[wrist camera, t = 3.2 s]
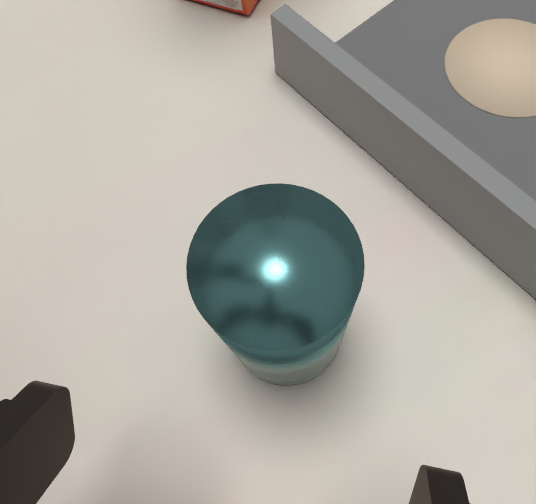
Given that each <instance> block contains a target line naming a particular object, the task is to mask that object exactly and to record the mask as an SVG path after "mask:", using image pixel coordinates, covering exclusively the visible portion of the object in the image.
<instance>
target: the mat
mask: <svg viewBox="0 0 536 504" xmlns="http://www.w3.org/2000/svg"><path fill="white" fill-rule="evenodd" d="M336 44H337V45H338V46H339V47H341V48H342V49H343V50H344V51H346V52H347V53H348V54H350V55H351V56H352V57H353V58H355V59H356V60H357V61H358V62H360V63H361V64H362V65H364V66H365V67H366V68H367V69H369V70H370V71H371V72H372V73H374V74H375V75H376V76H377V77H379V78H380V79H381V80H383V81H384V82H385V83H386V84H388V85H389V86H390V87H391V88H393V89H394V90H395V91H397V92H398V93H399V94H400V95H402V96H403V97H404V98H405V99H407V100H408V101H409V102H411V103H412V104H413V105H414V106H416V107H417V108H418V109H419V110H421V111H422V112H423V113H424V114H426V115H427V116H428V117H430V118H431V119H432V120H433V121H435V122H436V123H437V124H438V125H440V126H441V127H442V128H444V129H445V130H446V131H447V132H449V133H450V134H451V135H452V136H454V137H455V138H456V139H457V140H459V141H460V142H461V143H463V144H464V145H465V146H466V147H468V148H469V149H470V150H471V151H473V152H474V153H475V154H477V155H478V156H479V157H480V158H482V159H483V160H484V161H485V162H487V163H488V164H489V165H491V166H492V167H493V168H494V169H496V170H497V171H498V172H499V173H501V174H502V175H503V176H504V177H506V178H507V179H508V180H510V181H511V182H512V183H513V184H515V185H516V186H517V187H518V188H520V189H521V190H522V191H524V192H525V193H526V194H527V195H529V196H530V197H531V198H532V199H534V200H535V201H536V0H394V1H393V2H391V3H390V4H388V5H387V6H386V7H384V8H383V9H381V10H380V11H379V12H377V13H376V14H375V15H373V16H372V17H370V18H369V19H368V20H366V21H365V22H363V23H362V24H361V25H359V26H358V27H357V28H355V29H354V30H352V31H351V32H350V33H348V34H347V35H345V36H344V37H343V38H341V39H340V40H338V41H337V42H336Z"/></svg>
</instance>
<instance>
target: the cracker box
mask: <svg viewBox="0 0 536 504" xmlns="http://www.w3.org/2000/svg"><path fill="white" fill-rule="evenodd" d="M193 1H197V2H200V3H204V4H208V5H212V6H215V7H218V8H222V9H226V10H230V11H233V12H237V13H241V14H245V15H249V14H250V13H251V11H252V10H253V8H254V6H255V5H256V3H257V1H258V0H193Z"/></svg>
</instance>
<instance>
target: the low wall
mask: <svg viewBox="0 0 536 504" xmlns="http://www.w3.org/2000/svg"><path fill="white" fill-rule="evenodd" d="M271 25H272V37H273V50H274V62H275V72H276V73H277V74H278V75H279V76H280V77H281V78H283V79H284V80H285V81H286V82H287V83H288V84H289V85H291V86H292V87H293V88H294V89H295V90H296V91H297V92H299V93H300V94H301V95H302V96H303V97H304V98H305V99H307V100H308V101H309V102H310V103H311V104H312V105H313V106H315V107H316V108H317V109H318V110H319V111H320V112H321V113H323V114H324V115H325V116H326V117H327V118H328V119H329V120H331V121H332V122H333V123H334V124H335V125H336V126H337V127H339V128H340V129H341V130H342V131H343V132H344V133H346V134H347V135H348V136H349V137H350V138H351V139H352V140H354V141H355V142H356V143H357V144H358V145H359V146H360V147H362V148H363V149H364V150H365V151H366V152H367V153H368V154H370V155H371V156H372V157H373V158H374V159H375V160H376V161H378V162H379V163H380V164H381V165H382V166H383V167H384V168H386V169H387V170H388V171H389V172H390V173H391V174H392V175H394V176H395V177H396V178H397V179H398V180H399V181H400V182H402V183H403V184H404V185H405V186H406V187H407V188H408V189H410V190H411V191H412V192H413V193H414V194H415V195H417V196H418V197H419V198H420V199H421V200H422V201H423V202H425V203H426V204H427V205H428V206H429V207H430V208H431V209H433V210H434V211H435V212H436V213H437V214H438V215H439V216H441V217H442V218H443V219H444V220H445V221H446V222H447V223H449V224H450V225H451V226H452V227H453V228H454V229H455V230H457V231H458V232H459V233H460V234H461V235H462V236H463V237H465V238H466V239H467V240H468V241H469V242H470V243H471V244H473V245H474V246H475V247H476V248H477V249H478V250H480V251H481V252H482V253H483V254H484V255H485V256H486V257H488V258H489V259H490V260H491V261H492V262H493V263H494V264H496V265H497V266H498V267H499V268H500V269H501V270H502V271H504V272H505V273H506V274H507V275H508V276H509V277H510V278H512V279H513V280H514V281H515V282H516V283H517V284H518V285H520V286H521V287H522V288H523V289H524V290H525V291H526V292H528V293H529V294H530V295H531V296H532V297H533V298H534V299H536V201H535V200H534V199H532V198H531V197H530V196H529V195H527V194H526V193H525V192H524V191H522V190H521V189H520V188H518V187H517V186H516V185H515V184H513V183H512V182H511V181H510V180H508V179H507V178H506V177H504V176H503V175H502V174H501V173H499V172H498V171H497V170H496V169H494V168H493V167H492V166H491V165H489V164H488V163H487V162H485V161H484V160H483V159H482V158H480V157H479V156H478V155H477V154H475V153H474V152H473V151H471V150H470V149H469V148H468V147H466V146H465V145H464V144H463V143H461V142H460V141H459V140H457V139H456V138H455V137H454V136H452V135H451V134H450V133H449V132H447V131H446V130H445V129H444V128H442V127H441V126H440V125H438V124H437V123H436V122H435V121H433V120H432V119H431V118H430V117H428V116H427V115H426V114H424V113H423V112H422V111H421V110H419V109H418V108H417V107H416V106H414V105H413V104H412V103H411V102H409V101H408V100H407V99H405V98H404V97H403V96H402V95H400V94H399V93H398V92H397V91H395V90H394V89H393V88H391V87H390V86H389V85H388V84H386V83H385V82H384V81H383V80H381V79H380V78H379V77H377V76H376V75H375V74H374V73H372V72H371V71H370V70H369V69H367V68H366V67H365V66H364V65H362V64H361V63H360V62H358V61H357V60H356V59H355V58H353V57H352V56H351V55H350V54H348V53H347V52H346V51H344V50H343V49H342V48H341V47H339V46H338V45H337V44H336V43H334V42H333V41H332V40H330V39H329V38H328V37H327V36H325V35H324V34H323V33H322V32H320V31H319V30H318V29H317V28H315V27H314V26H313V25H311V24H310V23H309V22H308V21H306V20H305V19H304V18H303V17H301V16H300V15H299V14H297V13H296V12H295V11H294V10H292V9H291V8H290V7H289V6H287V5H286V4H285V5H283V6H282V7H281V8H279V9H278V10H276V11H275V12H273V13H272V14H271Z"/></svg>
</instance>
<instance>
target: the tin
mask: <svg viewBox="0 0 536 504" xmlns="http://www.w3.org/2000/svg"><path fill="white" fill-rule="evenodd" d="M363 277H364V254H363V249H362V244H361V241H360V239H359V236H358V233H357V231H356V229H355V228H354V226H353V224H352V223H351V221H350V220H349V218H348V217H347V215H346V214H345V213H344V212H343V211H342V210H341V209H340V208H339V207H338V206H337V205H335V204H334V203H333V202H332V201H331V200H329V199H327V198H326V197H324V196H323V195H321V194H319V193H317V192H315V191H313V190H310V189H307V188H304V187H300V186H296V185H290V184H265V185H259V186H255V187H251V188H247V189H245V190H242V191H240V192H237V193H235V194H234V195H232V196H230V197H228V198H227V199H225V200H224V201H222V202H221V203H219V204H218V205H217V206H216V207H215V208H214V209H212V210H211V212H210V213H209V214H208V215H207V216H206V217H205V218H204V220H203V221H202V223H201V224H200V225H199V227H198V229H197V231H196V232H195V234H194V236H193V239H192V242H191V244H190V248H189V252H188V256H187V281H188V286H189V290H190V293H191V296H192V299H193V301H194V303H195V305H196V307H197V309H198V311H199V312H200V314H201V315H202V316H203V318H204V319H205V320H206V321H207V323H208V324H209V325H210V326H211V327H212V328H213V329H214V331H215V332H216V333H217V334H218V335H219V336H220V338H221V339H222V340H223V341H224V342H225V343H226V344H227V346H228V347H229V348H230V349H231V350H232V351H233V352H234V354H235V355H236V356H237V357H238V358H239V359H240V361H241V362H242V363H243V364H244V365H245V366H246V367H247V368H248V369H249V371H251V372H252V373H253V374H254V375H256V376H257V377H259V378H260V379H262V380H265V381H267V382H270V383H273V384H278V385H296V384H300V383H304V382H307V381H309V380H311V379H313V378H315V377H316V376H318V375H319V374H320V373H322V372H323V371H324V370H325V369H326V368H327V367H328V366H329V364H330V363H331V362H332V360H333V358H334V356H335V355H336V352H337V350H338V347H339V344H340V342H341V339H342V337H343V334H344V331H345V329H346V326H347V324H348V321H349V318H350V316H351V313H352V311H353V308H354V305H355V303H356V300H357V297H358V295H359V292H360V290H361V286H362V282H363Z"/></svg>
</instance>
